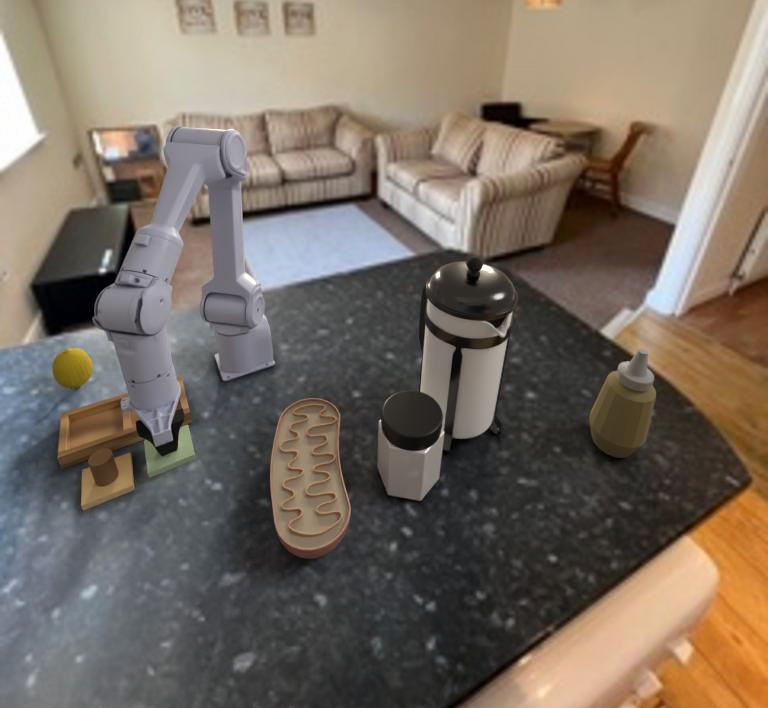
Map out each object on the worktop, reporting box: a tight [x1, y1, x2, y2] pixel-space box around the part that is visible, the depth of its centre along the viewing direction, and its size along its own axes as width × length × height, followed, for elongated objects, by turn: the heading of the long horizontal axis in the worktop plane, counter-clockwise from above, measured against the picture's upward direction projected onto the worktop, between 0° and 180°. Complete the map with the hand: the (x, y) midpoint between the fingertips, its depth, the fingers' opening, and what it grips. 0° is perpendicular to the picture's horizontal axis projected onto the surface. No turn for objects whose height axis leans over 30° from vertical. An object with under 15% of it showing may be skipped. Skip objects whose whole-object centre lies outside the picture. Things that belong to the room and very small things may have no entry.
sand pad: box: [80, 448, 136, 511], centre depth 61 cm, size 6×6×5 cm
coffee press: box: [418, 255, 519, 455], centre depth 68 cm, size 17×16×30 cm
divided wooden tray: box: [56, 376, 193, 470], centre depth 70 cm, size 9×17×2 cm, turn 120°
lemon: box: [51, 347, 94, 389], centre depth 76 cm, size 6×6×8 cm
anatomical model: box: [269, 397, 352, 560], centre depth 61 cm, size 23×10×5 cm, turn 10°
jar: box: [376, 389, 444, 502], centre depth 62 cm, size 9×8×12 cm
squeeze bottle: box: [588, 348, 657, 459], centre depth 66 cm, size 8×8×18 cm
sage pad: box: [143, 424, 197, 479], centre depth 63 cm, size 6×6×5 cm
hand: (167, 442), depth 63 cm, fingers closed on sage pad, 3 cm apart
